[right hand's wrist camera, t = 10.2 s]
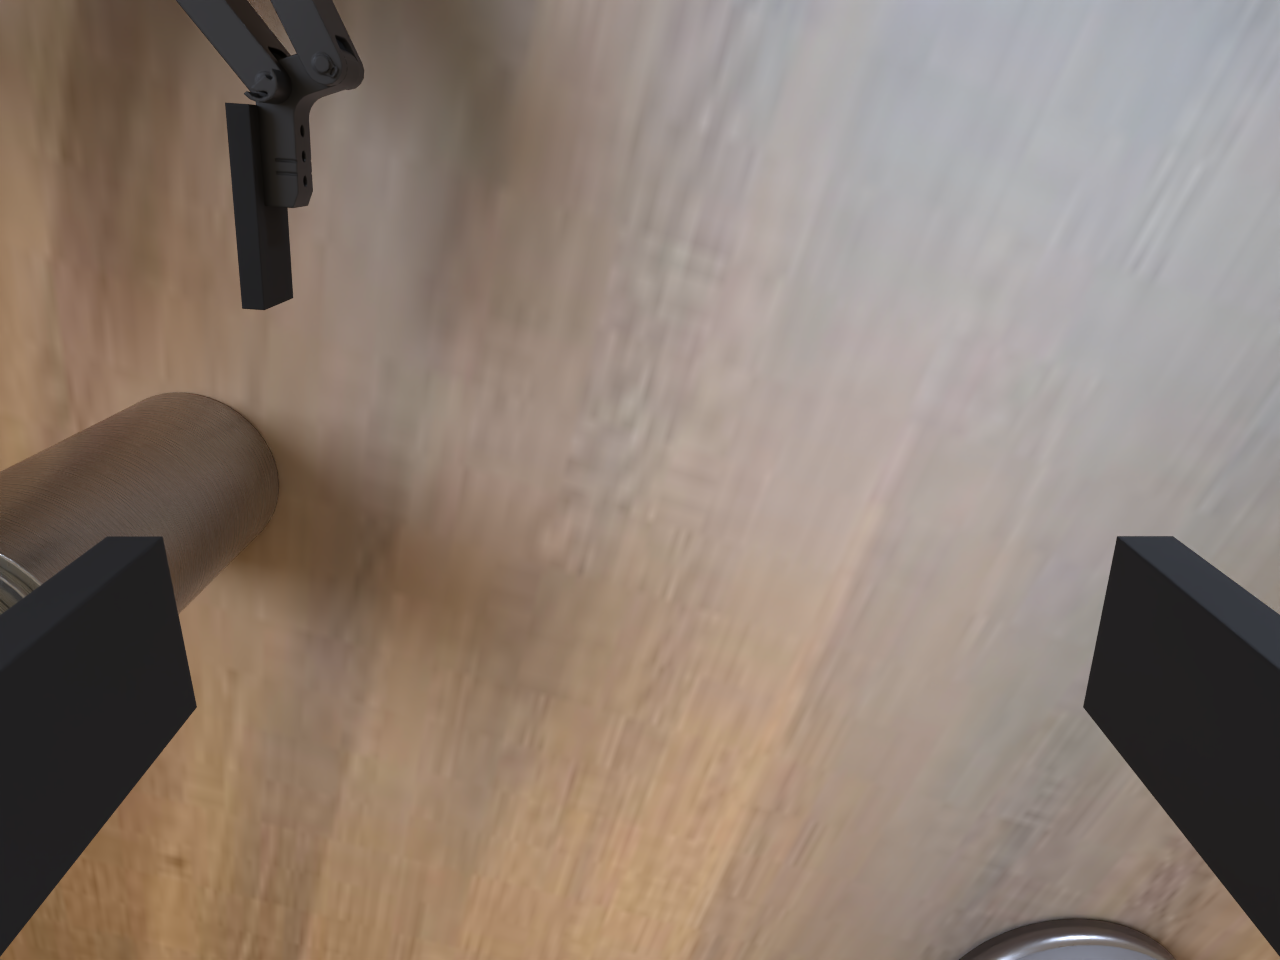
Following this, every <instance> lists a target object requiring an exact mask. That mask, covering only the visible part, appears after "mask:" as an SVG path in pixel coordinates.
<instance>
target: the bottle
mask: <svg viewBox="0 0 1280 960" xmlns="http://www.w3.org/2000/svg"><path fill="white" fill-rule="evenodd" d="M278 489H279V482H278V473H277V469H276V465H275V461H274V459H273V456H272V454H271V451H270V449H269V448H268V446H267V444H266V442H265V441H264V439H263V438H262V436H261V435H260V434H259V432H258V431H257V430H256V429H255V428H254V427H253V426H252V424H251V423H250V422H248V421H247V420H246V419H245V418H244V417H243V416H242V415H240V414H239V413H237V412H236V411H234V410H233V409H232V408H230V407H228V406H226V405H224V404H222V403H221V402H218V401H216V400H213V399H211V398H208V397H204V396H200V395H196V394H189V393H167V394H161V395H156V396H152V397H150V398H147V399H145V400H142V401H140V402H138V403H136V404H134V405H132V406H130V407H128V408H126V409H124V410H123V411H121V412H119V413H117V414H115V415H113V416H111V417H109V418H107V419H105V420H103V421H101V422H99V423H97V424H95V425H93V426H91V427H89V428H87V429H85V430H83V431H81V432H79V433H77V434H75V435H73V436H71V437H69V438H67V439H65V440H63V441H61V442H59V443H57V444H55V445H53V446H51V447H49V448H47V449H45V450H43V451H41V452H39V453H37V454H35V455H33V456H31V457H29V458H27V459H25V460H23V461H21V462H19V463H17V464H15V465H13V466H11V467H9V468H7V469H5V470H3V471H1V472H0V615H1V614H2V613H4V612H5V611H6V610H8V609H9V608H10V607H12V606H13V605H15V604H16V603H17V602H19V601H20V600H21V599H23V598H24V597H25V596H27V595H28V594H29V593H31V592H32V591H34V590H35V589H36V588H38V587H39V586H40V585H42V584H43V583H44V582H46V581H47V580H49V579H50V578H51V577H53V576H54V575H55V574H57V573H58V572H59V571H61V570H62V569H63V568H65V567H66V566H68V565H69V564H70V563H72V562H73V561H74V560H76V559H77V558H78V557H80V556H81V555H83V554H84V553H85V552H87V551H88V550H89V549H91V548H92V547H93V546H95V545H96V544H97V543H99V542H100V541H102V540H103V539H104V538H106V537H107V536H163V540H164V545H165V550H166V555H167V560H168V565H169V570H170V575H171V580H172V585H173V590H174V595H175V600H176V605H177V611H178V614H179V613H180V612H181V611H182V610H183V609H184V608H185V607H186V606H187V605H188V604H189V603H190V602H191V601H192V600H193V599H194V598H195V597H196V596H197V595H198V594H199V593H200V592H201V591H202V590H203V589H204V588H205V587H206V586H207V585H208V584H209V583H210V582H211V581H212V580H213V579H214V578H215V577H216V576H217V575H218V574H219V573H220V572H221V571H222V570H223V569H224V568H225V567H226V566H227V565H228V564H229V563H230V562H231V561H232V560H233V559H234V558H235V557H236V556H237V555H238V554H239V553H240V552H241V551H242V550H243V549H244V548H245V547H246V546H247V545H248V544H249V543H250V542H251V541H252V540H253V539H254V538H255V537H256V536H257V535H258V534H259V533H260V532H261V531H262V530H263V529H264V528H265V526H266V525H267V523H268V522H269V521H270V519H271V517H272V515H273V513H274V510H275V507H276V504H277V499H278Z"/></svg>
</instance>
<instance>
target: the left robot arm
mask: <svg viewBox="0 0 1280 960" xmlns="http://www.w3.org/2000/svg"><path fill="white" fill-rule="evenodd" d="M176 1H177V2H178V3H179V4H180V6H181V7H182V8H183V9H184V11H185V12H186V13H187V14H188V15H189V17H190V18H191V19H192V20H193V22H194V23H195V24H196V25H197V27H198V28H199V29H200V30H201V31H202V33H203V34H204V35H205V36H206V38H207V39H208V40H209V41H210V42H211V44H212V45H213V46H214V47H215V49H216V50H217V51H218V52H219V53H220V55H221V56H222V57H223V58H224V60H225V61H226V62H227V63H228V65H229V66H230V67H231V68H232V69H233V71H234V72H235V73H236V74H237V76H238V77H239V78H240V79H241V80H242V82H243V83H244V84H245V85H246V87H247V88H248V89H249V90H250V91H251V92H247V91H246V92H245V93H244V94H245V95H246V96H247V97H248V98H249V99H251V100H253V101H256V105H250V104H236V103H225V107H226V119H227V130H228V142H229V154H230V166H231V178H232V190H233V202H234V214H235V226H236V238H237V250H238V262H239V274H240V286H241V298H242V309H256V310H266V309H268V308H271V307H273V306H275V305H278V304H280V303H282V302H285V301H287V300H289V299H292V298H293V289H292V273H291V257H290V242H289V226H288V211H287V207H288V208H296V207H302V206H308V204H309V201H310V198H311V195H312V192H313V185H312V174H311V172H312V167H311V149H310V131H309V113H310V109H311V107H312V105H313V104H314V102H316V101H317V100H318V99H319V98H321V97H324V96H327V95H330V94H333V93H336V92H339V91H342V90H345V89H346V90H350V89H355V88H356V87H358V86H359V85H360V84H361V82H362V80H363V78H364V68H363V65H362V62H361V60H360V58H359V56H358V54H357V51H356V49H355V47H354V45H353V43H352V41H351V39H350V37H349V35H348V33H347V31H346V28H345V26H344V24H343V22H342V20H341V18H340V16H339V14H338V12H337V10H336V7H335V5H334V3H333V1H332V0H271V2H272V4H273V6H274V8H275V10H276V12H277V14H278V16H279V18H280V20H281V22H282V24H283V26H284V29H285V31H286V33H287V35H288V37H289V39H290V41H291V43H292V45H293V47H294V49H295V51H296V53H297V54H295V55H292V56H291V55H290V54H289V53H288V51H287V50H286V49H285V48H284V46H283V45H282V44H281V43H280V41H279V40H278V39H277V37H276V36H275V35H274V34H273V32H272V31H271V30H270V29H269V27H268V26H267V25H266V24H265V22H264V21H263V20H262V19H261V17H260V16H259V15H258V14H257V12H256V11H255V10H254V8H253V7H252V6H251V5H250V3H249V2H248V1H247V0H176Z"/></svg>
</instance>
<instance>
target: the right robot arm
mask: <svg viewBox="0 0 1280 960" xmlns="http://www.w3.org/2000/svg"><path fill="white" fill-rule="evenodd" d="M196 707H197V706H196V701H195V696H194V691H193V686H192V681H191V676H190V671H189V666H188V661H187V656H186V651H185V646H184V641H183V636H182V631H181V626H180V621H179V616H178V611H177V605H176V600H175V595H174V590H173V585H172V580H171V575H170V570H169V565H168V560H167V555H166V550H165V545H164V540H163V536H107V537H106V538H104V539H103V540H102V541H100V542H99V543H97V544H96V545H95V546H93V547H92V548H91V549H89V550H88V551H87V552H85V553H84V554H83V555H81V556H80V557H78V558H77V559H76V560H74V561H73V562H72V563H70V564H69V565H68V566H66V567H65V568H63V569H62V570H61V571H59V572H58V573H57V574H55V575H54V576H53V577H51V578H50V579H49V580H47V581H46V582H44V583H43V584H42V585H40V586H39V587H38V588H36V589H35V590H34V591H32V592H31V593H29V594H28V595H27V596H25V597H24V598H23V599H21V600H20V601H19V602H17V603H16V604H15V605H13V606H12V607H10V608H9V609H8V610H6V611H5V612H4V613H2V614H1V615H0V956H1V955H2V954H3V952H4V951H5V950H6V949H7V947H8V946H9V945H10V943H11V942H12V941H13V940H14V938H15V937H16V936H17V935H18V933H19V932H20V931H21V929H22V928H23V927H24V926H25V924H26V923H27V922H28V921H29V919H30V918H31V917H32V916H33V914H34V913H35V912H36V910H37V909H38V908H39V907H40V905H41V904H42V903H43V902H44V900H45V899H46V898H47V896H48V895H49V894H50V893H51V891H52V890H53V889H54V888H55V886H56V885H57V884H58V883H59V881H60V880H61V879H62V877H63V876H64V875H65V874H66V872H67V871H68V870H69V869H70V867H71V866H72V865H73V863H74V862H75V861H76V860H77V858H78V857H79V856H80V855H81V853H82V852H83V851H84V850H85V848H86V847H87V846H88V844H89V843H90V842H91V841H92V839H93V838H94V837H95V836H96V834H97V833H98V832H99V830H100V829H101V828H102V827H103V825H104V824H105V823H106V822H107V820H108V819H109V818H110V817H111V815H112V814H113V813H114V811H115V810H116V809H117V808H118V806H119V805H120V804H121V803H122V801H123V800H124V799H125V797H126V796H127V795H128V794H129V792H130V791H131V790H132V789H133V787H134V786H135V785H136V784H137V782H138V781H139V780H140V778H141V777H142V776H143V775H144V773H145V772H146V771H147V770H148V768H149V767H150V766H151V764H152V763H153V762H154V761H155V759H156V758H157V757H158V756H159V754H160V753H161V752H162V751H163V749H164V748H165V747H166V745H167V744H168V743H169V742H170V740H171V739H172V738H173V737H174V735H175V734H176V733H177V732H178V730H179V729H180V728H181V726H182V725H183V724H184V723H185V721H186V720H187V719H188V718H189V716H190V715H191V714H192V712H193V711H194V710H195V709H196ZM1083 707H1084V709H1085V710H1086V711H1087V712H1088V714H1089V715H1090V716H1091V718H1092V719H1093V720H1094V721H1095V723H1096V724H1097V725H1098V726H1099V728H1100V729H1101V730H1102V732H1103V733H1104V734H1105V735H1106V737H1107V738H1108V739H1109V740H1110V742H1111V743H1112V744H1113V745H1114V747H1115V748H1116V749H1117V751H1118V752H1119V753H1120V754H1121V756H1122V757H1123V758H1124V759H1125V761H1126V762H1127V763H1128V765H1129V766H1130V767H1131V768H1132V770H1133V771H1134V772H1135V773H1136V775H1137V776H1138V777H1139V778H1140V780H1141V781H1142V782H1143V784H1144V785H1145V786H1146V787H1147V789H1148V790H1149V791H1150V792H1151V794H1152V795H1153V796H1154V797H1155V799H1156V800H1157V801H1158V803H1159V804H1160V805H1161V806H1162V808H1163V809H1164V810H1165V811H1166V813H1167V814H1168V815H1169V817H1170V818H1171V819H1172V820H1173V822H1174V823H1175V824H1176V825H1177V827H1178V828H1179V829H1180V830H1181V832H1182V833H1183V834H1184V836H1185V837H1186V838H1187V839H1188V841H1189V842H1190V843H1191V844H1192V846H1193V847H1194V848H1195V850H1196V851H1197V852H1198V853H1199V855H1200V856H1201V857H1202V858H1203V860H1204V861H1205V862H1206V863H1207V865H1208V866H1209V867H1210V869H1211V870H1212V871H1213V872H1214V874H1215V875H1216V876H1217V877H1218V879H1219V880H1220V881H1221V883H1222V884H1223V885H1224V886H1225V888H1226V889H1227V890H1228V891H1229V893H1230V894H1231V895H1232V896H1233V898H1234V899H1235V900H1236V902H1237V903H1238V904H1239V905H1240V907H1241V908H1242V909H1243V910H1244V912H1245V913H1246V914H1247V916H1248V917H1249V918H1250V919H1251V921H1252V922H1253V923H1254V924H1255V926H1256V927H1257V928H1258V929H1259V931H1260V932H1261V933H1262V935H1263V936H1264V937H1265V938H1266V940H1267V941H1268V942H1269V943H1270V945H1271V946H1272V947H1273V949H1274V950H1275V951H1276V952H1277V954H1278V955H1279V956H1280V615H1279V614H1278V613H1276V612H1275V611H1274V610H1272V609H1271V608H1270V607H1268V606H1267V605H1265V604H1264V603H1263V602H1261V601H1260V600H1259V599H1257V598H1256V597H1255V596H1253V595H1252V594H1251V593H1249V592H1248V591H1246V590H1245V589H1244V588H1242V587H1241V586H1240V585H1238V584H1237V583H1236V582H1234V581H1233V580H1231V579H1230V578H1229V577H1227V576H1226V575H1225V574H1223V573H1222V572H1221V571H1219V570H1218V569H1217V568H1215V567H1214V566H1212V565H1211V564H1210V563H1208V562H1207V561H1206V560H1204V559H1203V558H1202V557H1200V556H1199V555H1197V554H1196V553H1195V552H1193V551H1192V550H1191V549H1189V548H1188V547H1187V546H1185V545H1184V544H1183V543H1181V542H1180V541H1178V540H1177V539H1176V538H1174V537H1173V536H1117V540H1116V545H1115V550H1114V555H1113V560H1112V565H1111V570H1110V575H1109V580H1108V585H1107V590H1106V595H1105V600H1104V605H1103V610H1102V616H1101V621H1100V626H1099V631H1098V636H1097V641H1096V646H1095V651H1094V656H1093V661H1092V666H1091V671H1090V676H1089V681H1088V686H1087V691H1086V696H1085V701H1084V706H1083ZM959 960H1175V958H1174V957H1173V956H1172V955H1171V954H1170V953H1169V952H1168V951H1167V950H1166V949H1165V948H1164V947H1163V946H1161V945H1160V944H1159V943H1158V942H1156V941H1155V940H1153V939H1151V938H1150V937H1148V936H1146V935H1144V934H1142V933H1140V932H1138V931H1136V930H1133V929H1131V928H1128V927H1125V926H1122V925H1118V924H1115V923H1110V922H1105V921H1098V920H1088V919H1065V920H1054V921H1046V922H1041V923H1036V924H1031V925H1027V926H1024V927H1020V928H1017V929H1014V930H1011V931H1008V932H1006V933H1003V934H1001V935H999V936H996V937H994V938H992V939H990V940H988V941H986V942H985V943H983V944H981V945H979V946H978V947H976V948H975V949H973V950H971V951H970V952H969V953H967V954H966V955H965V956H963V957H962V958H961V959H959Z"/></svg>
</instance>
